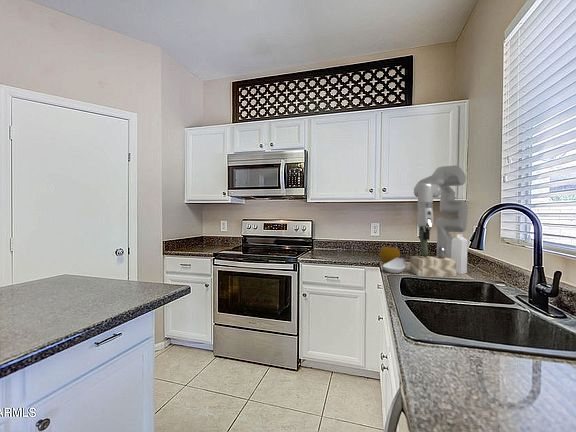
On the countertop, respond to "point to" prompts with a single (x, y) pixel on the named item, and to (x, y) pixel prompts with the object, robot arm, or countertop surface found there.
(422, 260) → the beige woven basket
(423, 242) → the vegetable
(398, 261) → the spoon rest
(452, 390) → the countertop surface
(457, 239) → the milk
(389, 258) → the apple
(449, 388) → the countertop surface
